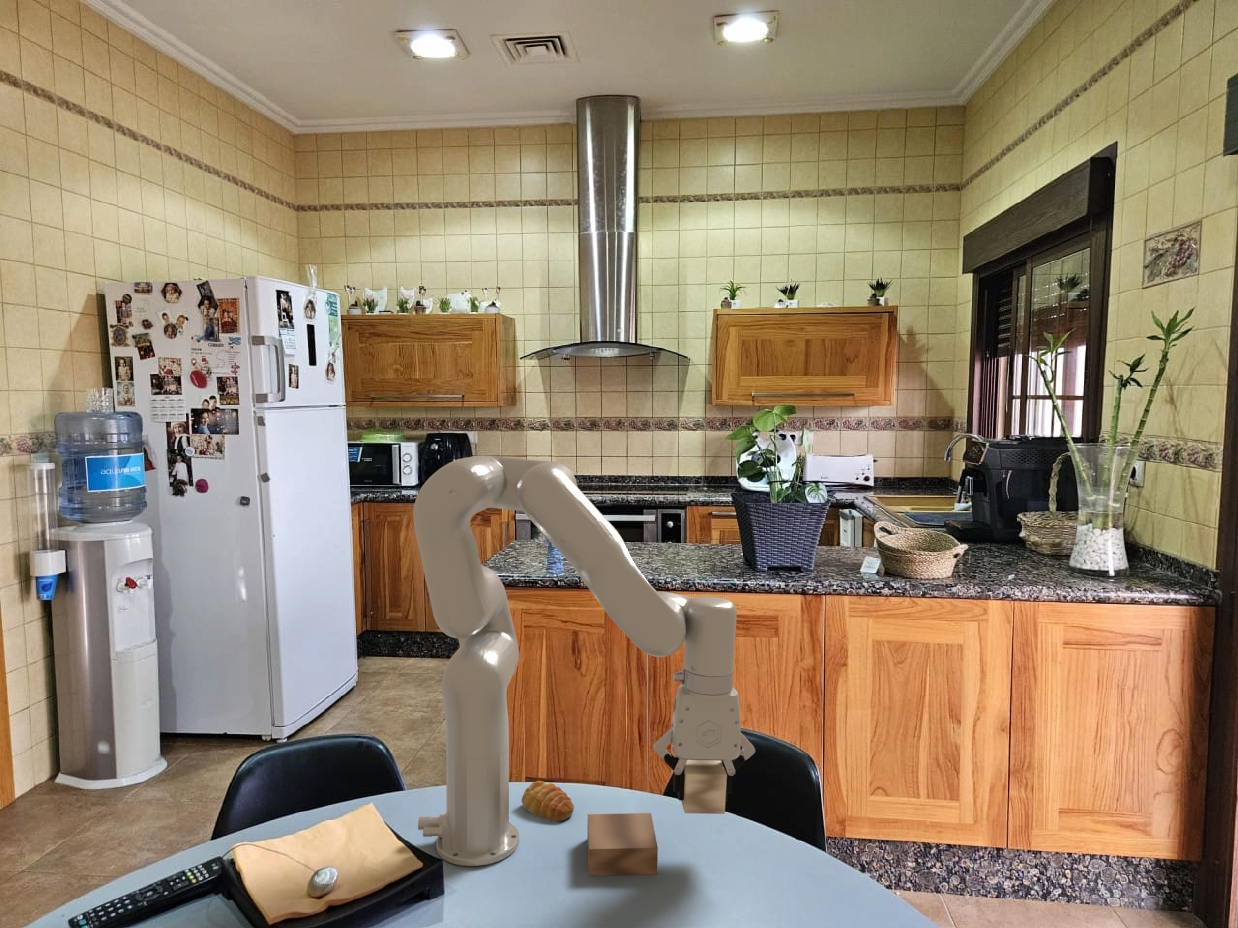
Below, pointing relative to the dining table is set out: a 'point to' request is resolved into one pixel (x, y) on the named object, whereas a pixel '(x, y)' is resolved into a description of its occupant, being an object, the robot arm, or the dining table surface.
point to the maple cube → (704, 787)
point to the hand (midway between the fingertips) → (701, 795)
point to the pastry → (547, 801)
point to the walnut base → (621, 844)
